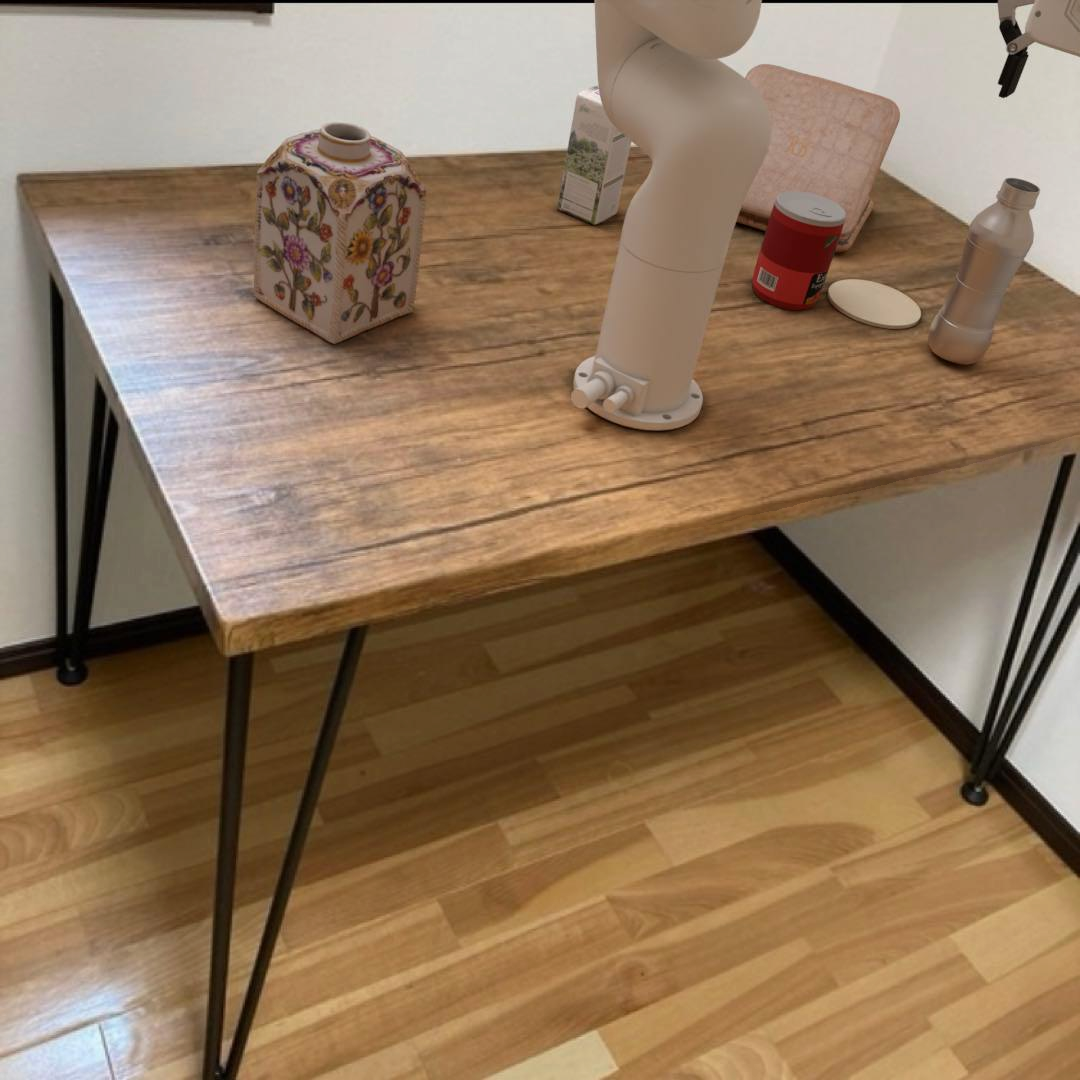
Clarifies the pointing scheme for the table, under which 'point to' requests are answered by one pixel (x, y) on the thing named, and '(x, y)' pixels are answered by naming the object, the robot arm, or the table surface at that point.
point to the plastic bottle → (985, 274)
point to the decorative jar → (338, 231)
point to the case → (819, 145)
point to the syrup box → (593, 162)
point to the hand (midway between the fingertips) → (1052, 110)
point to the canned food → (797, 249)
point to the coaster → (874, 304)
